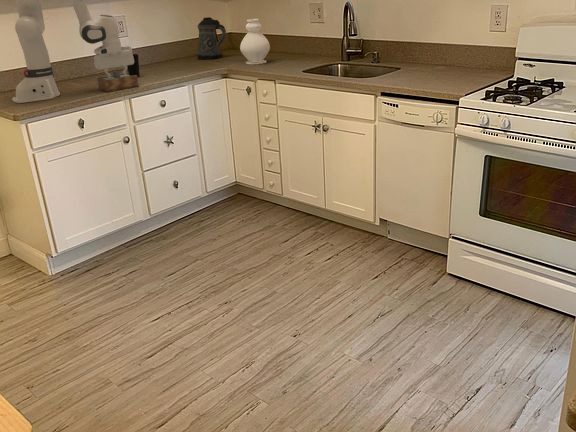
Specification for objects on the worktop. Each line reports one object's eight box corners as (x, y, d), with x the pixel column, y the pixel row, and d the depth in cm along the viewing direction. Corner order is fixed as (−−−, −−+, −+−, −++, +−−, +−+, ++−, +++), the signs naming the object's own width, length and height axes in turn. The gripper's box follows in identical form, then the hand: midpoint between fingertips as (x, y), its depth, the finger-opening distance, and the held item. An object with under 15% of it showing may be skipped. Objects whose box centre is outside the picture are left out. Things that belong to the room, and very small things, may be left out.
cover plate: (107, 83, 300) (106, 74, 298) (101, 81, 306) (99, 72, 304) (133, 78, 307) (132, 70, 306) (126, 76, 313) (125, 68, 312)
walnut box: (107, 92, 300) (105, 80, 297) (99, 89, 308) (97, 77, 305) (138, 86, 309) (136, 75, 307) (129, 84, 317) (127, 72, 315)
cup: (127, 78, 333) (123, 56, 328) (127, 76, 340) (124, 54, 335) (141, 77, 334) (138, 55, 329) (141, 75, 341) (138, 53, 336)
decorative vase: (270, 64, 352) (267, 20, 342) (240, 65, 352) (236, 21, 342) (271, 59, 368) (268, 17, 358) (242, 60, 369) (239, 18, 359)
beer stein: (195, 57, 392) (190, 17, 382) (224, 54, 397) (220, 15, 386) (199, 61, 377) (195, 19, 367) (229, 58, 382) (225, 17, 372)
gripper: (128, 45, 308) (133, 72, 314) (90, 50, 297) (95, 78, 302) (134, 46, 304) (138, 73, 309) (95, 51, 292) (100, 79, 298)
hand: (117, 75), depth 306 cm, fingers open, 7 cm apart
